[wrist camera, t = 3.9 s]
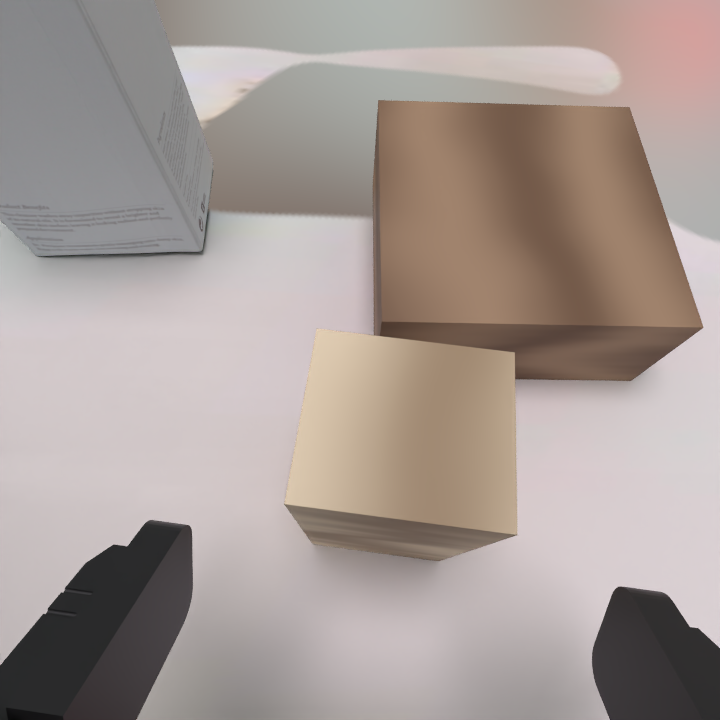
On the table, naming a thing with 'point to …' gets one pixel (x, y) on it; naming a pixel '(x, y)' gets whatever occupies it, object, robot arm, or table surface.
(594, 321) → the walnut block
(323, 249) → the table surface
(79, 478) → the table surface
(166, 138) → the skincare box
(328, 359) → the oak post
